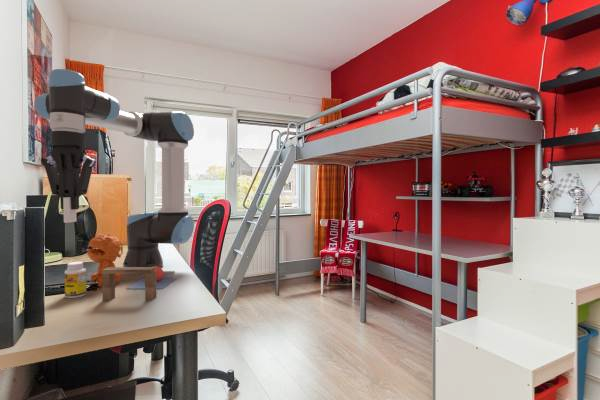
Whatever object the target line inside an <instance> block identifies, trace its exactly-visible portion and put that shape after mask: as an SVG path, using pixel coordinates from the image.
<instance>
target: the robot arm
mask: <svg viewBox="0 0 600 400" xmlns="http://www.w3.org/2000/svg"><path fill="white" fill-rule="evenodd" d="M47 87H48V93H42V94H39V95H37V96H36V97H35V99H34V109H35V111H36V113H37V115H39V117H41V118H42V119H44V120H49V128H50V130H51V131H50V133H49V139H50V140H49V141H50V146H51V150H50V154H49V156H47V157H42V158H40V162H41V164H42V166H44V169H45V172H46V176H47V181H48V184H49V188H50V192H51V194H52V195H55V196H58V197H59V198H60V199H59V200H60V210H63V223H65V224H66V223H69V224H70V223H76V222H77V221H78V220H77V218H78V217H77V210H79V208H80V197H81V196H85V195H87V193H88V190H89V185H90V180H91V176H92V171H93V168H94V166H95V165H96V163H97V160H96V159H94V158H91V157H90V156H88V153H87V152H86V147H87V145H86V143H87V142H86V141H87V140H86V139H87V137H86V134H85V133H86V130H87V129H86V125H88V126H92V127H96V128H101V129H105V130H106V129H107V130H111V131H116V132H120V133H121V132H122V133H124V135H126V136H128V137H132V138H136V139H141V140H145V141H152V142H157V145H158V146H159V148H161V208H159V210H158V211H150V212H143V213H135V214H129V215H128V217H127V221H126V222H127V223H126V233H127V234H126V237H127V238H126V239H127V240H126V242H127V252H126V254H125V257H124V260H123V263H122V267H154V266H158V267H160V268H161V269H162V267H163V266H164V259H163V257H162V254H161V252H160V250H159V244H170V245H171V244H173V245H177V244H178V245H181V244H185V243H187V242H188V241H189V240H191V237H192V235H193V233H194V229H195V228H194V227H195V222H194V221H195V220H193V217H192V216H191V215H189V210H188V209H187V208H186V207H185V149H187V147H189V141H192V140H193V139H194V134H195V130H194V129H195V128H194V124H193V121H192V120H191V117H190V116H189V115H188V114H187V113H186V112H184V111H176V110H173V111H161V112H160V111H158V112H157V111H155V112H154V111H153V112H151V111H150V112H135V111H127V112H125V111H122V110H120V109H121V106H120V103H119V101H118V100H117V99H116V98H115V97H113V96H111V95H109V94H108V93H105V92H102V91H99V90H96V89H95V88H94V89H93V88H91V87H88V86H87V85H86V81H85V76H84V75H82V74H81V73H80V72H77V71H75V70H70V69H65V68H55V69H52V70H50V72H49V76H48V86H47ZM81 165H82V166H81Z"/></svg>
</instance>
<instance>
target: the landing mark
mask: <svg viewBox="0 0 600 400" xmlns="http://www.w3.org/2000/svg"><path fill="white" fill-rule="evenodd" d="M175 280H177V278H176V277H175V278H162V279H161V280H159V281H157V282H156V290H164V289H165V288H167V287H168V286H169V285H170V284H172V283H173V282H174V281H175ZM125 290H145V278H142V279H140V280H138V281H137V282H135V283H133V284H131V285H130V286H128V287H126V289H125Z"/></svg>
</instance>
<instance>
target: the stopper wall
mask: <svg viewBox="0 0 600 400" xmlns="http://www.w3.org/2000/svg"><path fill="white" fill-rule="evenodd" d="M162 278H176V271H175V270H163V277H162Z"/></svg>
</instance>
